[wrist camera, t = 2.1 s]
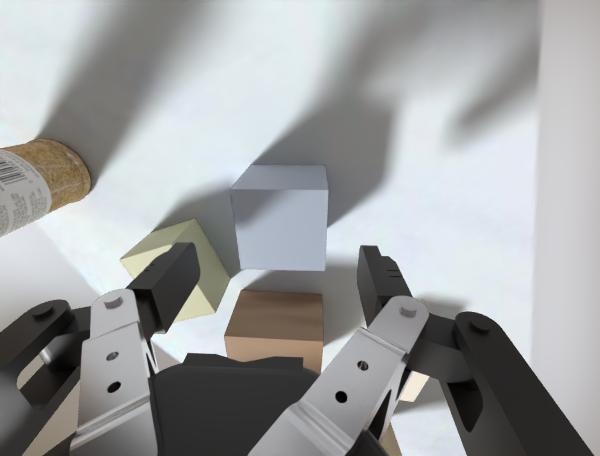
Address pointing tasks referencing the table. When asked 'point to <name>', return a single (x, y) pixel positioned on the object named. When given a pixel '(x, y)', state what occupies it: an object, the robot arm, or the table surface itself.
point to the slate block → (281, 217)
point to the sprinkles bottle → (38, 181)
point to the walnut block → (276, 327)
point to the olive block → (211, 268)
